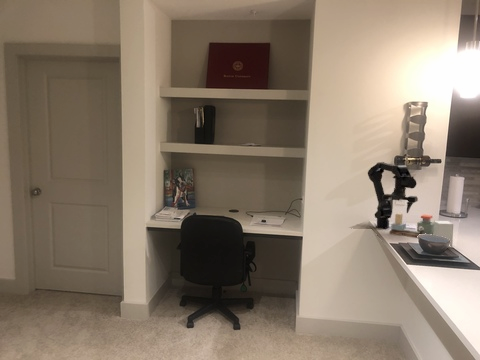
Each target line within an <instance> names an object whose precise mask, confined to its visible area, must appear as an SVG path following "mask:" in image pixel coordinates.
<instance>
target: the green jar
mask: <svg viewBox="0 0 480 360" xmlns="http://www.w3.org/2000/svg"><path fill="white" fill-rule="evenodd" d="M416 226H417V227H416V231H417V232H420V230H422V229H423V230H424V233H426V234H425V235H430V234H432V235H434V222H433V221H430V224H426V223H423V220H420V221H418V222H417V225H416Z"/></svg>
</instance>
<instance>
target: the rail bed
mask: <svg viewBox="0 0 480 360" xmlns="http://www.w3.org/2000/svg"><path fill="white" fill-rule="evenodd" d="M389 234H393V235H399V236H403V237H410V238H415V239H418V238H417V236H418V235H419V234H425V233H424V230H423V229H422V230H420V232H417V230H416V231H415V230H410V229H403V230H395V229H390V230H389ZM425 235H426V234H425Z"/></svg>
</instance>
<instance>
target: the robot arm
mask: <svg viewBox="0 0 480 360" xmlns="http://www.w3.org/2000/svg"><path fill="white" fill-rule="evenodd" d="M385 171H388V172H391V174H393V177H392V178H393V179H394V188H393V191H392V193H390V194H389V193H385V190H384V187H383V184H382V178H383V174H384V173H385ZM367 176H368V179H369V180H370V181H371V182H372V184H373V187H374V193H375V194H376V195H375V196H376V198H377V203H378V205H377V207H376V209H377V211H376V212H375V213H374V218H376V226H375V228H379V229H388V228H390V220H389V219H391V217H392V215H393V208H394V207H393V205H394V201H400V200H402V201H407V202H406V204H407V205H406V214H409V212H410V209H411V207H412V205H413V204H414V203H416V202H417V203H418V201H419V200H418V195H417V196H416V195H410V196H406V190H407V189H414V188H415V187H416V186H417V184H418V183H417V180H416V179H415V178H414V176H412V175H411V173H410V171H409V167H408V166H407V165H406V164H404V165H402V164H399V165H396V164H391V163H387V162H384V161H382V162H376V164H375V165H373V166H371V167H370V168H369V169H368V171H367Z"/></svg>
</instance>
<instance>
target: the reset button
mask: <svg viewBox="0 0 480 360" xmlns="http://www.w3.org/2000/svg"><path fill="white" fill-rule="evenodd" d="M420 219H422V221H423V223H426V224H430V222H431V219H433V215H431V214H422V215H421V216H420Z"/></svg>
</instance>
